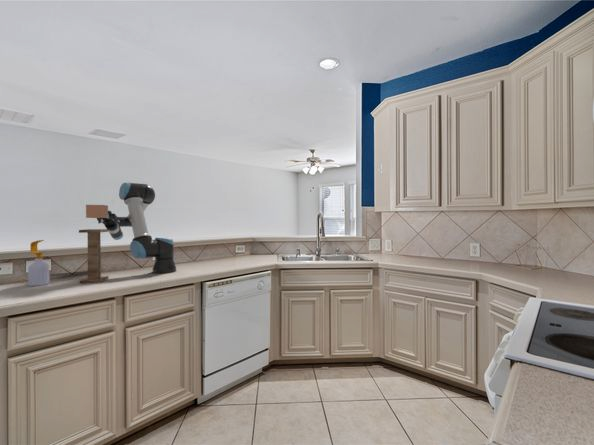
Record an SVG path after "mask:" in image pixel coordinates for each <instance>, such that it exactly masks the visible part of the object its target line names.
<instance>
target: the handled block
mask: <svg viewBox="0 0 594 445" xmlns="http://www.w3.org/2000/svg"><path fill="white" fill-rule="evenodd" d="M108 211H110V212H112V210H109V206H108V205H105V204H85V218H86V219H97V218H108V217H109V216H108Z"/></svg>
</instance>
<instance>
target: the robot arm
mask: <svg viewBox="0 0 594 445" xmlns="http://www.w3.org/2000/svg"><path fill="white" fill-rule="evenodd" d="M118 195H119V196H118V197H119V200H122V201H124V202H123V203H124V204H125V205H127V209H128V215H127V216H117V214H115V213H114V212H113V213H112V211H111V210H108V216H109V217H108V218H96V220H97V221H98V222H97V223H98V224H99V225H100V224H103V225H104V227H105V229H108V232H107V233H109V235H110V236H111V238H112V239H113V240H115V241H118V240H121V239H122V238H123V237H124V233H123V231H122V227H125V228H127V227H129V228H132V232H133V238H132V241H131V242H130V244H129V246H130V247H129V250H130V253H131V255H132V257H133V258H134V259H141V260H142V259H147V258H148V259H150V258H154V259H155V260H154V264H153V266H152V271H151V272H152V273H155V274H169V273H174V272H177V266H176V263H175V261H174V260H175V259H174V240H173V238H167V237H165V238H164V237H155V238H154V239H152V235H150V234H149V231H148V227H147V223H146V222H147V221H146V217H145V214H144V212H145V211H146V209H147V208H148V207H149V205H151V204H153V202H155V198H156V193H155V190H154V188H153V187H152V186H151V185H149V184H147V183H139V182H138V183H137V182H136V183H135V182H123V183H122V184H121V186H120V187H119V193H118ZM110 211H111V212H110Z"/></svg>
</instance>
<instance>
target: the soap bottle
mask: <svg viewBox="0 0 594 445" xmlns="http://www.w3.org/2000/svg"><path fill="white" fill-rule="evenodd" d="M44 241H45V240H44V239H39V240H36V241H32V242H31V243H30V253H31V254H35V256H36V257H35V258H34V262H32V263H31V264H29V265H28V268H27V276H28V277H27V283H28V285H27V286H30V287H41V286H47V285H49V284H50V265H49V264H48V263H47V262H44V260H43V257H42V255H43V254H45V253H46V252H45V251H38V244H39V243H41V242H44Z"/></svg>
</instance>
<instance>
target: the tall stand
mask: <svg viewBox="0 0 594 445" xmlns="http://www.w3.org/2000/svg"><path fill="white" fill-rule="evenodd" d="M79 233H80V234H83V233H85V234H86V233H87V277H85V278H82V279H80V280H79V281H78V282H79V284H95V283H96V284H97V283H98V284H99V283H103V282H105V281H107V280H109V276H105V275H103V276H102V275H101V274H102V273H101V271H102V270H101V269H102V268H101V266H102V265H101V262H102V261H101V257H102V256H101V254H102V253H101V252H102V251H101V244H102V243H101V241H102V240H101V233H109V232H108V229H106V228H103V229H101V228H100V229H99V228H98V229H96V228H95V229H94V228H93V229H92V228H91V229H90V228H88V229H78V234H79Z"/></svg>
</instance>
